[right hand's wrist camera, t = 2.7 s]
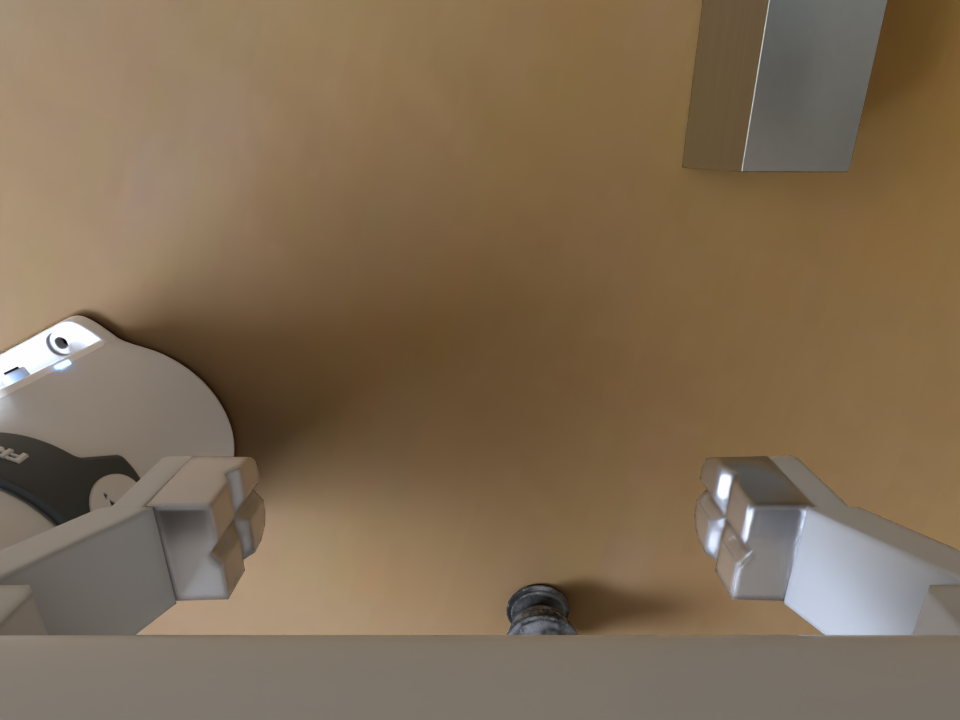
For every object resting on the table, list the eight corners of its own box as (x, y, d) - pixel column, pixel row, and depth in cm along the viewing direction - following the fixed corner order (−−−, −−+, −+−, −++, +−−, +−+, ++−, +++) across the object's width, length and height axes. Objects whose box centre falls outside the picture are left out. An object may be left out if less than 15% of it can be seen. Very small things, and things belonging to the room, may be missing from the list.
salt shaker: (519, 573, 45) (531, 712, 34) (583, 594, 46) (616, 736, 35) (492, 624, 47) (496, 771, 36) (555, 643, 48) (577, 793, 37)
